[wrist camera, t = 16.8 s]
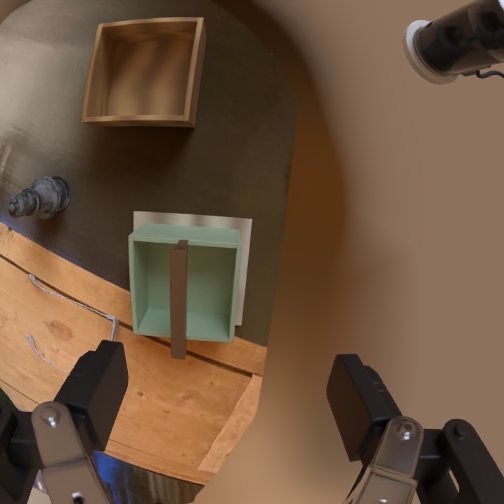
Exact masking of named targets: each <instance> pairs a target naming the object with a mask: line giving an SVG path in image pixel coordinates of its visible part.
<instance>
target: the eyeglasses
mask: <svg viewBox="0 0 504 504" xmlns="http://www.w3.org/2000/svg"><path fill="white" fill-rule="evenodd" d="M29 278H30V279H31V281H32V282H33V283H34V284H35V285H37V286H38V287H39V288H41V289H42V290H44V291H46V292H48V293H51V294H54V295H57V296H60V295H59V294H56V293H53V292H50V291H48V290H46V289H44V288H42V287H41V286H40V285H38V283H37V282H36V281H35V276H34V275H32V274H29ZM60 297H63V296H60ZM63 298H65V297H63ZM65 299H67V298H65ZM68 300H70V299H68ZM70 301H72V300H70ZM72 302H74V301H72ZM75 303H77V302H75ZM77 304H79V303H77ZM80 305H82V304H80ZM82 306H84V305H82ZM84 307H86V306H84ZM86 308H88V307H86ZM89 309H91V308H89ZM91 310H93V309H91ZM93 311H95V310H93ZM95 312H97V311H95ZM98 313H100V312H98ZM100 314H102V313H100ZM102 315H104V314H102ZM104 316H106V317H107V318H108V319H111V320H113V329H112V335H111V341H115V339H116V335H117V331H118V327H119V319H116V318H115V317H112V316H110V315H104ZM27 337H28V340H29V342H30V344H31V345H32V347H33V348H34V350H35V351H36V352H37V354H38V355H39V356H40V357H41V358H42V359H44V358H43V357H42V356H41V355H40V354H39V353H38V351H37V350H36V348H35V346H34V340H33V338H32V337H31V336H29V335H27ZM44 360H45V361H46V362H48V361H47V360H46V359H44ZM48 363H49V364H51V363H50V362H48ZM51 365H53V364H51ZM53 366H54V367H56V366H55V365H53ZM57 368H58V367H57ZM59 369H60V368H59ZM61 370H62V369H61ZM63 371H64V370H63ZM65 372H66V371H65ZM67 373H68V372H67ZM69 374H70V373H69Z"/></svg>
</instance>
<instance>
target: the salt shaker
mask: <svg viewBox="0 0 504 504" xmlns="http://www.w3.org/2000/svg"><path fill="white" fill-rule="evenodd" d="M69 200H70V188H69V186H68V184H67V182H66V181H65V180H64V179H63V178H61V177H52V178H49V177H44V176H43V177H40V178H38V179H36V180H35V181H34V182H33V184H32V185H31V187H30V188H27V189H25V190H23V192H22V193H19V194H15V195H13V196H12V197H11V198H10V199H9V202H8V211H9V213H10V215H11V216H12V217H14V218H19V217H21V216H24V215H26V216H33V215H34V214H35V215H36V216H38V217H40V218H42V219H47V218H50V217H52V216H54V214H55V213H56V212H60V211H62V210H64V209H65V208H66V207H67V205H68V203H69Z"/></svg>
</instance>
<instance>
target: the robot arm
mask: <svg viewBox="0 0 504 504" xmlns="http://www.w3.org/2000/svg"><path fill="white" fill-rule="evenodd" d="M433 20H434V19H433ZM433 20H431V21H432V22H431V21H430V22H429V23H427V24H426V25H424V26H421V27H419V28H418V29H417V30H416V31H415V33H414V35H413V45H414V49H415V52H416V54H417V56H418V58H419V59H420V61H421V62H422V63H423V65H424V66H425V67H426V68H427V69H428V70H429V71H431V72H432V73H434V74H436V75H438V76H443V77H445V76H449V75H452V74H453V75H459V74H461V75H463V76H470V75H474V74H476V76H477V77H478V78H486V77H489V76H491V75H499V76H501V77H503V78H504V74H503V73H501V72H499V71H489V72H487V73H484V74H480V71H479V70H481V69H485V68H490V67H491V65H494V64H499V63H504V0H475V1H473V2H471V3H469V4H467V5H464V6H462V7H460V8H458V9H456V10H454V11H452V12H450V13H448V14H446V15H444V16H442V17H440V18H438V19H436V20H434V21H433ZM127 387H128V370H127V364H126V358H125V352H124V346H123V344H122V343H121V342H115V341H108V340H102V341H101V343H100V344H99V346H98V348H97V349H96V351H88V352H87V353H85V354H84V355H83V356H81V357H80V358H79V360H78V361H77V363H76V364H75V366H74V368H73V369H72V371H71V372H70V375H69V376H68V377H67V379H66V380H65V382H64V384H63V385H62V387H61V389H60V390H59V392H58V394H57V395H56V397H55V399H54V400H53V401H48V402H44V403H42V404H40V405H38V406H37V407H36V408H35V409H34V411H33V412H23V411H13V410H12V408H11V406H10V405H9V403H8V402H7V401H5V400H4V399H1V398H0V459H1V460H0V504H27V502H28V499H29V496H30V493H31V490H32V487H33V484H34V481H35V478H36V475H37V473H38V470H39V469H41V474H42V478H43V481H44V484H45V487H46V489H47V492H48V495H49V498H50V500H51V503H52V504H115V502H114V501H113V499H112V497H111V495H110V494H109V492H108V490H107V488H106V486H105V484H104V483H103V481H102V479H101V477H100V475H99V473H98V471H97V469H96V467H95V465H94V462H93V460H92V458H91V456H92V453H93V451H94V450H98V451H102V452H104V451H105V448H106V445H107V442H108V439H109V436H110V433H111V431H112V428H113V425H114V422H115V419H116V417H117V414H118V411H119V409H120V406H121V403H122V400H123V398H124V395H125V393H126V390H127ZM327 399H328V402H329V404H330V407H331V410H332V413H333V415H334V418H335V421H336V424H337V426H338V430H339V432H340V435H341V438H342V441H343V443H344V446H345V449H346V452H347V454H348V458H349V460H350V462H353V461H358V460H361V462H362V464H363V465H362V467H361V469H360V470H359V473H358V475H357V477H356V479H355V481H354V482H353V485H352V486H351V488H350V490H349V492H348V494H347V496H346V498H345V499H344V501H343V503H342V504H411V503H412V500H413V497H414V493H415V490H416V492H417V495H418V497H419V500H420V503H421V504H504V477H503V475H502V474H501V472H500V470H499V468H498V467H497V465H496V463H495V462H494V460H493V458H492V457H491V455H490V453H489V452H488V451H487V448H486V447H485V445H484V444H483V442H482V440H481V439H480V437H479V436H478V434H477V432H476V431H475V429H474V428H473V427H472V426H471V424H469V423H468V422H466V421H464V420H461V419H452V420H450V421H448V422H447V423H446V424H445V426H444V427H443V429H423V428H422V426H421V425H420V424H419V423H418V422H417V421H416V420H414V419H412V418H410V417H404V416H403V415H402V414H401V412H400V410H399V408H398V407H397V405H396V403H395V402H394V400H393V398H392V397H391V395H390V393H389V391H387V388H386V386H385V385H384V384H383V381H382V380H381V378H380V376H379V375H378V373H377V372H376V371H374V370H373V369H372V368H371V367H369V366H364V365H363V364H362V362H361V360H360V358H359V357H358V355H357V354H339V355H337V356H336V357H335V360H334V364H333V367H332V370H331V374H330V377H329V380H328V384H327ZM2 455H3V456H2ZM1 457H2V458H1ZM450 470H451V471H452V473H453V475H454V477H455V479H456V481H457V483H458V485H459V493H458V491H457V489H456V487H455V484H454V482H453V480H452V478H451V476H450V474H449V471H450ZM156 504H161V503H156Z"/></svg>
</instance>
